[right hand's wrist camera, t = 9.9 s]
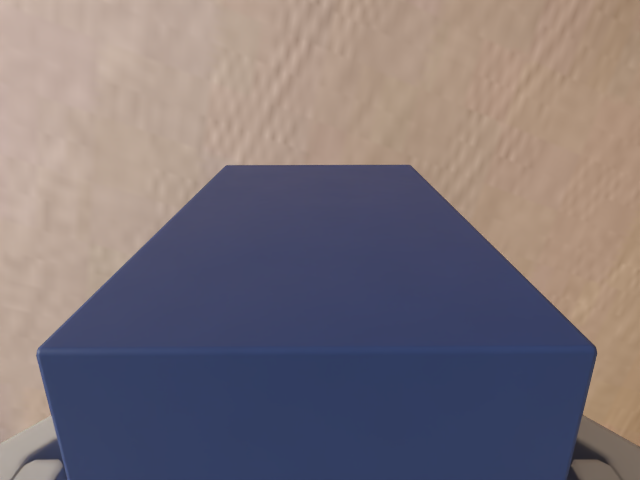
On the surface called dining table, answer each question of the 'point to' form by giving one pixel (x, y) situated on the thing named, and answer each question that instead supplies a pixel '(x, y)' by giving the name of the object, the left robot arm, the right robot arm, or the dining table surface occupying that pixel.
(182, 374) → the bar
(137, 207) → the dining table surface
